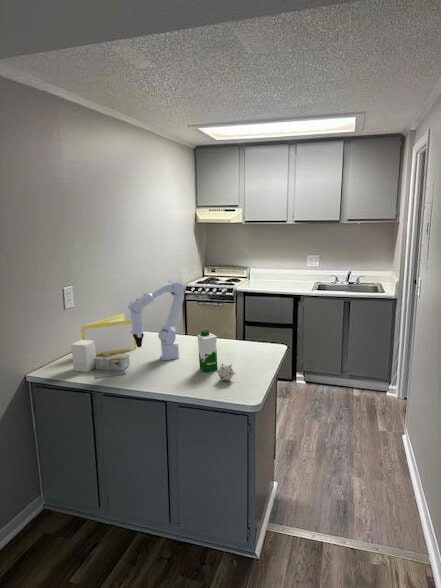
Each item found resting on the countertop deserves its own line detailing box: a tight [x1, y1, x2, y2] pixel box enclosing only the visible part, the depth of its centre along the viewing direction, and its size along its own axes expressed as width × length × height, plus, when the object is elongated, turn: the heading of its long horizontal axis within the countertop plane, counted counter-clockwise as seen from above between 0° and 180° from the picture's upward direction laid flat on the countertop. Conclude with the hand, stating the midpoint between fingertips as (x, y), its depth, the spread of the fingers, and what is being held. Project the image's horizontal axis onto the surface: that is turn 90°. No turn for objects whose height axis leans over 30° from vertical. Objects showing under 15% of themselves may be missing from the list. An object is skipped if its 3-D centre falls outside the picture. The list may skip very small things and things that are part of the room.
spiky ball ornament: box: [215, 363, 236, 383], centre depth 200 cm, size 9×8×10 cm
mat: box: [94, 368, 126, 380], centre depth 219 cm, size 15×14×1 cm
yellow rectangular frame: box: [80, 313, 137, 356], centre depth 252 cm, size 35×22×20 cm, turn 150°
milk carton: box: [197, 329, 219, 373], centre depth 215 cm, size 9×9×20 cm
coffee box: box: [94, 353, 131, 371], centre depth 223 cm, size 9×6×16 cm
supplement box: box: [70, 339, 97, 373], centre depth 224 cm, size 9×9×15 cm
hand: (139, 346), depth 225 cm, fingers closed
